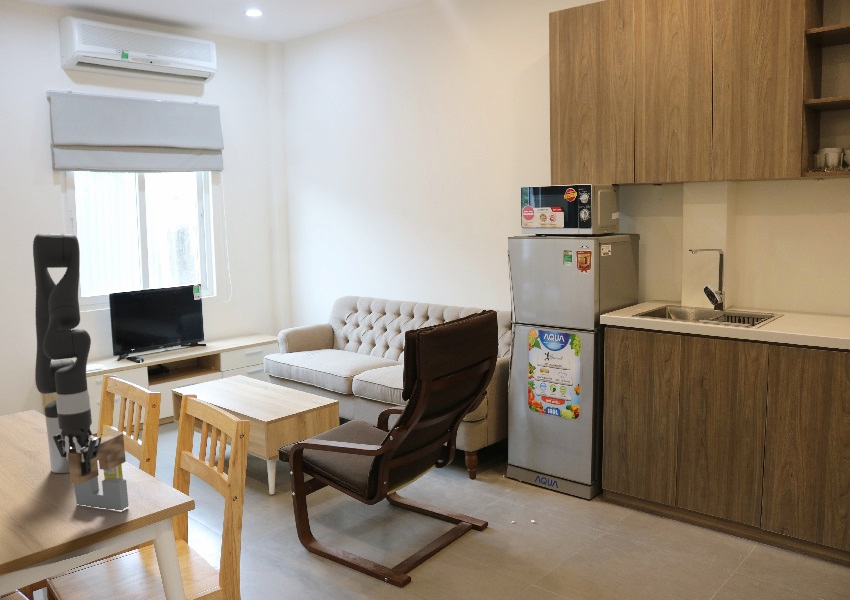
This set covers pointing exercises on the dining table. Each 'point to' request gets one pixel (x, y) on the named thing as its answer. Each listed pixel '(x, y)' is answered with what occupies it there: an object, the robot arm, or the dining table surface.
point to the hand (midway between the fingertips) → (80, 473)
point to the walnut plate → (98, 458)
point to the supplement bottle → (114, 472)
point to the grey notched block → (103, 493)
